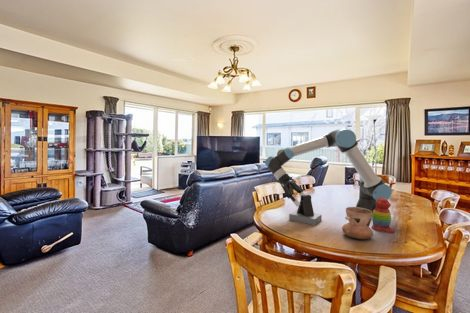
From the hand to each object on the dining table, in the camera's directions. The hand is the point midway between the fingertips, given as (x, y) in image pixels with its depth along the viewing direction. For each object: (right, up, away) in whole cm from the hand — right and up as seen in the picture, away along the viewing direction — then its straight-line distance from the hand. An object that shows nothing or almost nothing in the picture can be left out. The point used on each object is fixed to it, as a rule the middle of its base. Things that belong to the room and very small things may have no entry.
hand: (303, 203), depth 159 cm
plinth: (+1, -10, 0) cm, 10 cm away
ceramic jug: (+22, -13, -26) cm, 36 cm away
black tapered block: (+1, -7, 0) cm, 7 cm away
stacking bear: (+40, -12, -15) cm, 45 cm away
